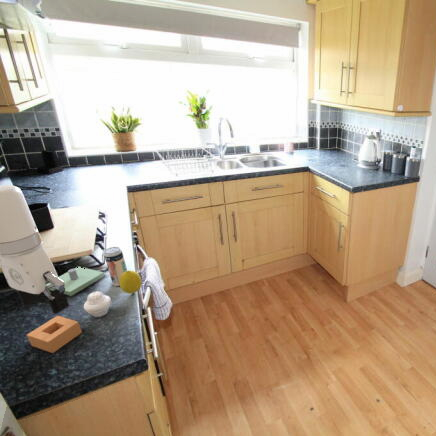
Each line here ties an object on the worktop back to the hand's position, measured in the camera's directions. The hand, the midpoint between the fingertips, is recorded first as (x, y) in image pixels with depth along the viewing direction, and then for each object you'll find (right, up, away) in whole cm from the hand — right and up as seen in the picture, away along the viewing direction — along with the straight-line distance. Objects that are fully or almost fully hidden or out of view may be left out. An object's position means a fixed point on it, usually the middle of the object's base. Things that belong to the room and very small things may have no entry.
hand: (46, 305), depth 76 cm
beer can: (+1, 0, +26) cm, 26 cm away
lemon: (+8, -2, +21) cm, 23 cm away
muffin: (+4, -6, +13) cm, 15 cm away
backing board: (-13, 0, +25) cm, 29 cm away
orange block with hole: (-1, -9, +4) cm, 10 cm away
